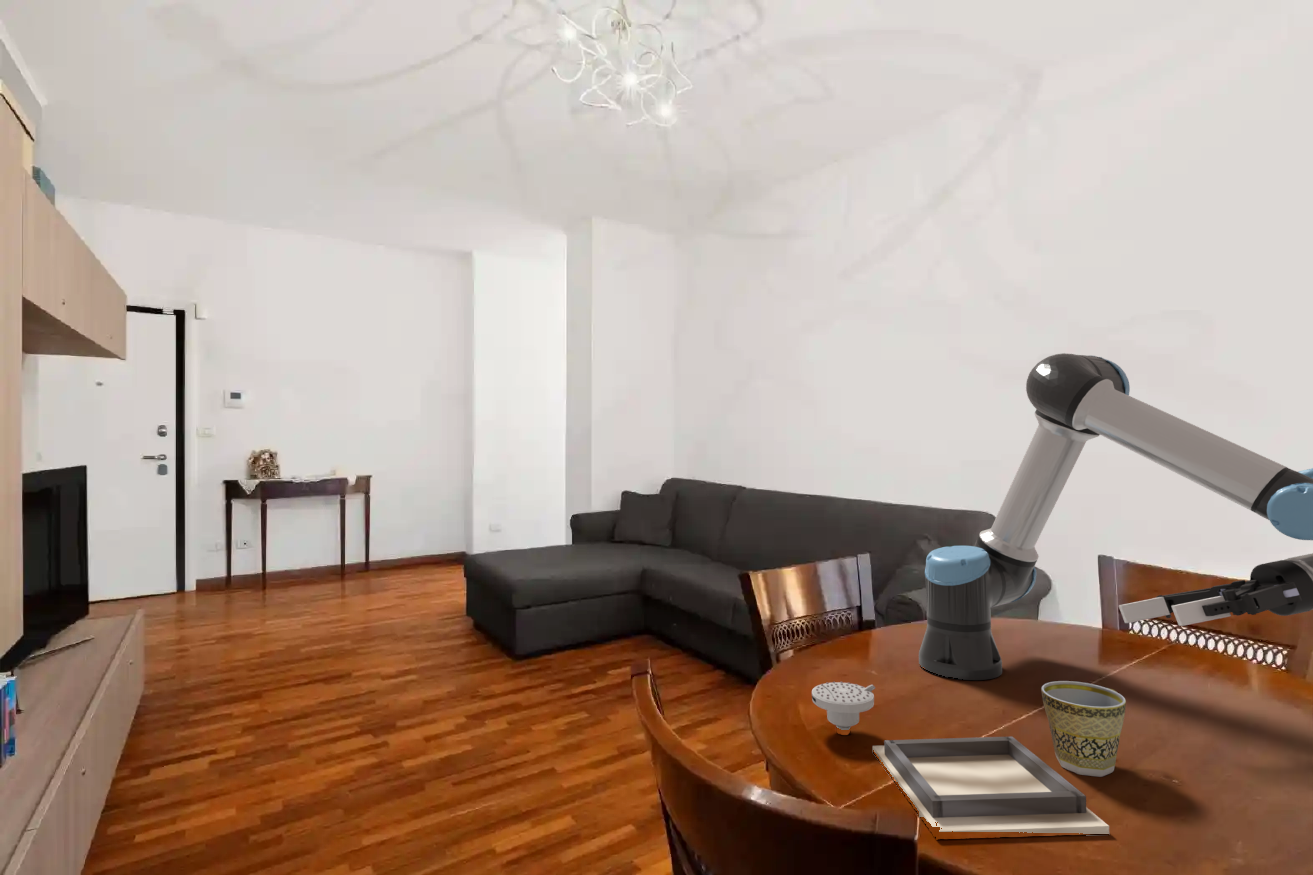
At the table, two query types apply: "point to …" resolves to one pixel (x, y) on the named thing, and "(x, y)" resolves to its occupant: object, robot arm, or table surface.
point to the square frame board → (986, 787)
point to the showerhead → (843, 702)
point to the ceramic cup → (1084, 725)
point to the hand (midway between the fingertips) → (1147, 614)
